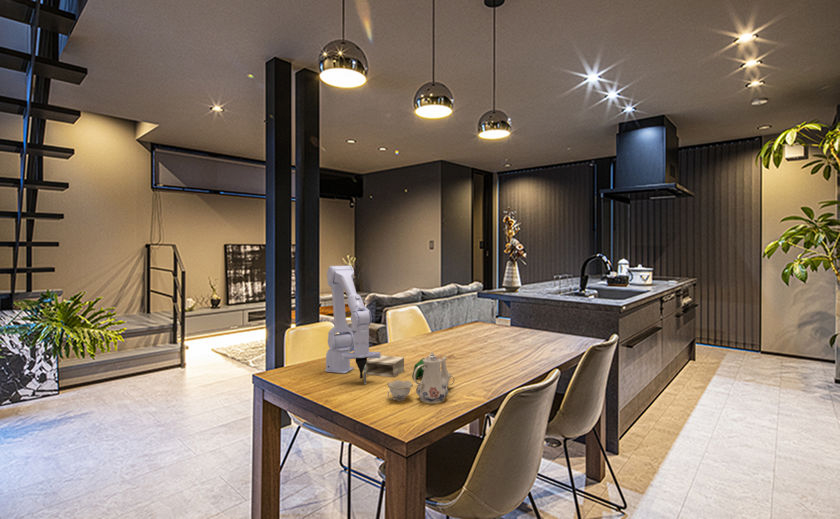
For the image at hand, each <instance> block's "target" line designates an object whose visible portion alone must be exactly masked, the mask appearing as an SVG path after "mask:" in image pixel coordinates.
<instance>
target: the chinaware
mask: <svg viewBox="0 0 840 519" xmlns="http://www.w3.org/2000/svg"><path fill="white" fill-rule="evenodd" d="M447 358H448V357H447V356H443V357H442V359H441V358H438V356H437V355H435V353H434V352H433V351H431V352H430V353H429V355H427V357H425V359H423V358H422V359H423V362H424V364H422V365H419V366H418V367H417V368H416V369H415V371H414V370H413V371H414V375H413V374H412V375H413V377H412V378H413V381H414V382H415V384H416V389H415V392H416V395H417V396H418V397H419V401H420V402H422V403H423V404H432V405H433V404H434V405H435V404H440V403H441V404H442V403H443V402H444V401H445V397H446V396H447V395H448V394H449V389H448V387H449V386H451V385H454V383H455V377H454V376H453V375H452V373H450V372H449V371H448V368H447V364H446V360H447ZM422 366H424V367H422ZM420 367H422V369H423V370H424V373H423V377H422V376H421V381H420V382H418V379H416V373H417V371H418V369H419V368H420ZM451 378H453V380H452V381H453V382H452V383H450V379H451ZM386 385H387V387H388V388H389V390H388V391H387V398H388V399H389V400H393V401H398V402H401V401H403V402H404V401H405V399H406V398H407V397H408V396H409V394H410V392H411V390H412V389H411V388H413V386H414V385H413V383H412V381H410V380H405V381H402V380H400V379H397V380H393V381H392V382H387V384H386ZM389 394H391V396H392V397H391V398H390V396H389Z"/></svg>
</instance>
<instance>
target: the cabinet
mask: <svg viewBox="0 0 840 519" xmlns="http://www.w3.org/2000/svg"><path fill="white" fill-rule="evenodd" d="M404 371H405V357H404V356H393V355H383V354H381V358H367V362H366V375H368V376H369V375H371V376H379V377H388V378H396V377H397V376H398V375H400V374H401V373H403V372H404Z"/></svg>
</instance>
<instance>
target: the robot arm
mask: <svg viewBox="0 0 840 519" xmlns="http://www.w3.org/2000/svg"><path fill="white" fill-rule="evenodd" d="M354 276H355V271H354V267H353V266H352V265H351V264H350V265H349V264H347V265H329V267H328V268H327V270H326V278H327V285H328V286H329V287H330V288H331V297H332V309H333V310H332V312H333V323H334V325H333V327H332V328H331V329H330V330H329V331H328V333H327V334H328V335H327V336H328V337H327V345H328V348H329V349H328V350H327V351H326V355H325V372H327V373H335V374H336V373H338V374H346V373H348V372H350V371H352V370H353V369H354V367H353V366H351V360H355V364H356V365H357V368H358V371H359V379H364V367H365V365H366V362H367V360H368V359H369V358H381V355H382V354H381V352H380V351H377V352H375V351H370V326H369V325H371V324H372V321H373V320H372V319H373V318H372V317H373V316H372V313H371V311H370V310H369V309H368V308H367V307H366V306H365V304H364V301H363V299H362V296H361V295H360V294H358V293H357V291H356V290H357V289H356V287H355V283H354ZM344 292H345V293H346V296H347V298H346V299H347V300H346V303H347V305H348V308H349V311H350V314H351V316H350V323H351V326H352V328H351V327H350V326H348V325H347V318H346V317H347V315H346V303H345V293H344ZM352 347H353V352H351V350H352Z"/></svg>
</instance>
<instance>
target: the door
mask: <svg viewBox="0 0 840 519" xmlns="http://www.w3.org/2000/svg"><path fill="white" fill-rule="evenodd" d="M363 385H367V374H366V365H365V367H364V370H363Z"/></svg>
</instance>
